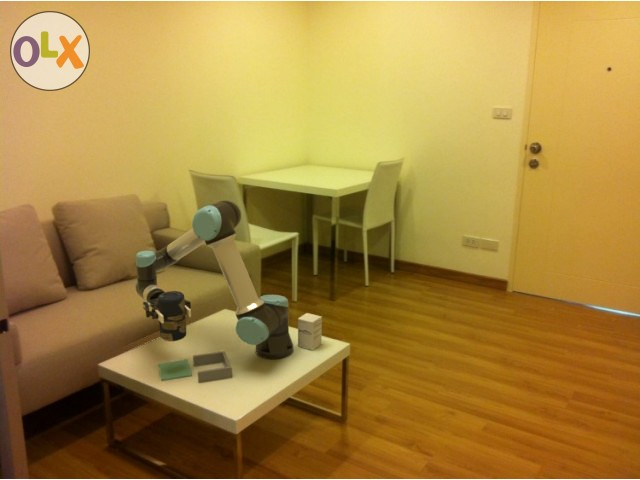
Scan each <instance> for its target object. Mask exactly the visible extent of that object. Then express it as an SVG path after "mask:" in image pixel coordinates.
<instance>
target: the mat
mask: <svg viewBox="0 0 640 480" xmlns="http://www.w3.org/2000/svg"><path fill="white" fill-rule="evenodd" d="M158 368H159V374H160V379H161V382H164V381H168V380H169V381H170V380H171V381H172V380H176V379H177V380H178V379H181V378H189V377H190V378H191V377H193V373H192V368H191V365H190V361H189V358H187V359H180V360H173V361H167V362H159V363H158Z"/></svg>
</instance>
